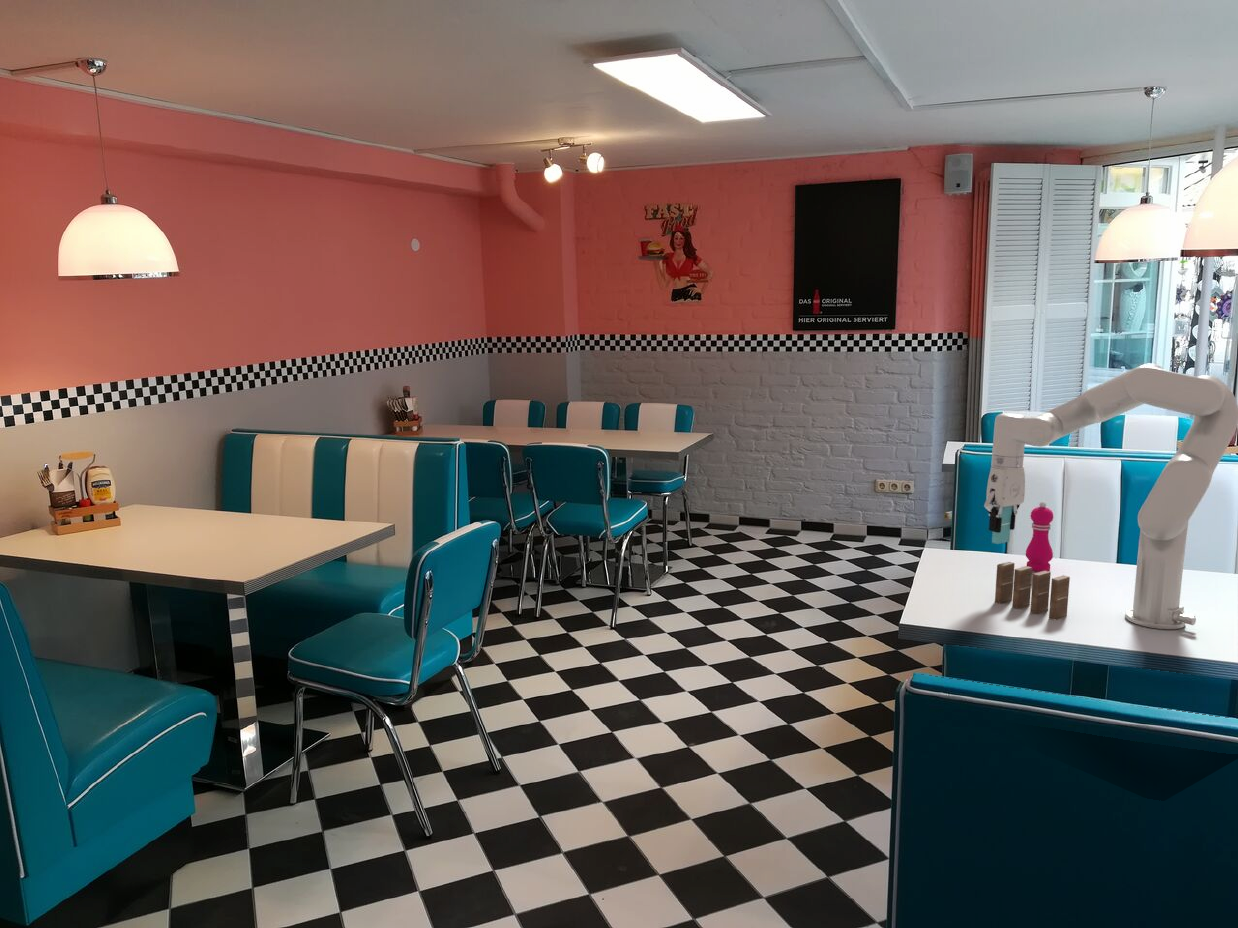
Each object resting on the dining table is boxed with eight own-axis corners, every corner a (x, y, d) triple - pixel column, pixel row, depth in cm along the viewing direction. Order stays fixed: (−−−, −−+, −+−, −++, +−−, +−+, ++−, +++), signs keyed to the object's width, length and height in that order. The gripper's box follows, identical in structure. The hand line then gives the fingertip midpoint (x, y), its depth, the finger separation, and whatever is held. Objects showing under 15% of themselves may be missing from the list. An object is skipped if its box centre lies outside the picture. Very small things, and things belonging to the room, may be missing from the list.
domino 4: (1048, 610, 230) (1050, 572, 228) (1036, 614, 227) (1038, 575, 225) (1041, 608, 231) (1044, 570, 229) (1030, 612, 228) (1032, 573, 227)
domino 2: (1012, 600, 238) (1014, 563, 236) (1000, 603, 235) (1002, 566, 233) (1006, 598, 239) (1008, 561, 238) (994, 601, 237) (997, 564, 235)
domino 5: (1066, 615, 225) (1069, 576, 224) (1055, 619, 223) (1058, 580, 221) (1060, 613, 227) (1063, 575, 225) (1048, 617, 224) (1051, 578, 222)
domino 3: (1029, 605, 234) (1032, 567, 232) (1018, 608, 231) (1020, 570, 229) (1023, 603, 235) (1026, 565, 233) (1012, 607, 232) (1014, 569, 231)
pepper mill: (1046, 565, 268) (1051, 499, 265) (1055, 572, 261) (1060, 504, 258) (1021, 565, 269) (1025, 499, 266) (1029, 572, 262) (1034, 504, 259)
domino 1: (1009, 541, 240) (1012, 504, 238) (997, 544, 237) (1000, 506, 235) (1003, 540, 241) (1006, 503, 239) (991, 542, 238) (994, 505, 237)
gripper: (999, 467, 228) (993, 537, 231) (1040, 461, 237) (1034, 529, 240) (973, 462, 234) (968, 531, 237) (1014, 456, 243) (1009, 523, 246)
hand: (1001, 529), depth 238 cm, fingers closed on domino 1, 4 cm apart
